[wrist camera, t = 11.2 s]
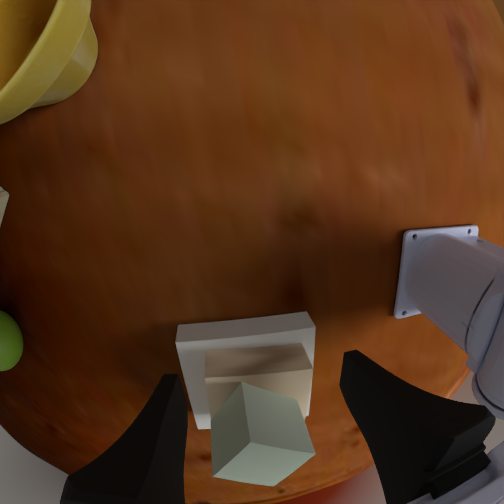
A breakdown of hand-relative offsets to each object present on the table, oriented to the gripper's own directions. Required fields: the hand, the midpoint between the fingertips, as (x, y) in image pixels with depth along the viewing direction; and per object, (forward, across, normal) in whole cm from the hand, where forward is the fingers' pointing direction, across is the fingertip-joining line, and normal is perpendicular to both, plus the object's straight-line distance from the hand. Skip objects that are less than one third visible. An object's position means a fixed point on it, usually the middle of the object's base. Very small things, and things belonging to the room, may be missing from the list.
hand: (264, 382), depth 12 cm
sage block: (+5, 0, +8) cm, 9 cm away
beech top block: (+8, 0, +8) cm, 11 cm away
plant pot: (+11, +12, -18) cm, 24 cm away
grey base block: (+11, 0, +8) cm, 14 cm away
